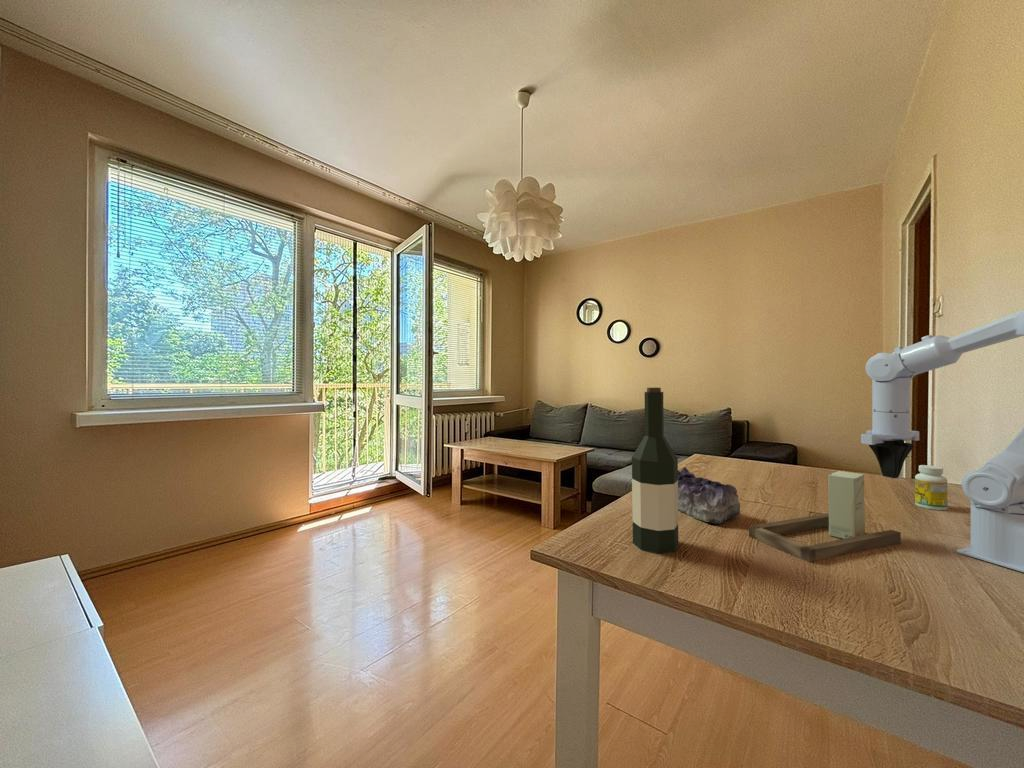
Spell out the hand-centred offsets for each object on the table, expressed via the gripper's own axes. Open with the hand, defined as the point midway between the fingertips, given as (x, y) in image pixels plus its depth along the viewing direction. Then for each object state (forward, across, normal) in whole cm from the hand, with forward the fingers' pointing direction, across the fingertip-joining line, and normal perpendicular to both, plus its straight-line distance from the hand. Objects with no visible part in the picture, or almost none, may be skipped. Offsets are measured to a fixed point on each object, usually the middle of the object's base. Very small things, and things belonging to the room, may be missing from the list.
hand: (890, 476), depth 84 cm
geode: (+11, +30, -22) cm, 39 cm away
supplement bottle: (+11, -23, -5) cm, 26 cm away
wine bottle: (+11, +51, -9) cm, 53 cm away
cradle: (+10, +20, 0) cm, 22 cm away
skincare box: (+11, +13, 0) cm, 17 cm away
